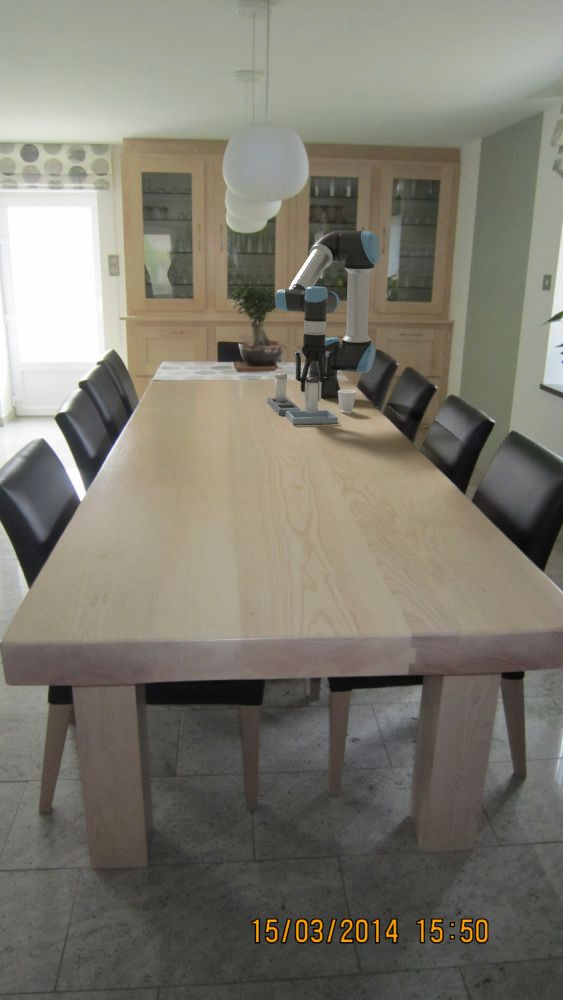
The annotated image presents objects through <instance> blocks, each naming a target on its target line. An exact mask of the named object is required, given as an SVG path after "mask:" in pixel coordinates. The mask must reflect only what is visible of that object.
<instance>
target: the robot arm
mask: <svg viewBox="0 0 563 1000" xmlns="http://www.w3.org/2000/svg"><path fill="white" fill-rule="evenodd" d="M380 256H381V246H380V241H379V238H378V235H377V234H376V233H375V232H373V231H368V230H367V231H366V230H334V231H331V232H329V233H327V234H325V235H323V236H322V237H321V238H319V239H318V240H316V241H315V243H313V245H312V246H311V247H310V249H309V252H308V257H307V259H306V261H304V263H303V265H302V266H301V268H300V269H299V271H298V272H297V273H296V275H295V277H294V279H293V280H292V282H291V283H290V285H289V286H288V287H287V288H281V289H278V290H277V291H276V292H275V293H276V294H275V296H274V303H275V308H276V309H277V310H278V311H284V312H288V313H289V312H294V313H304V314H303V315H304V316H303V317H304V318H303V319H304V321H303V332H304V334H303V337H302V338H303V342H302V343H303V344H302V348H301V350H298V351H294V356H295V380H296V381H298V382H300V391H301V392H302V401H303V402H304V403H305V402H307V385H308V383H306V378H308V377H316V378H319V390H318V402H322V398H325V399H326V398H336V397H337V398H338V391H339V390H341V386H340V382H339V378H338V371H339V372H349V373H357V374H359V373H368V372H369V371H370V370H371V369H372V367H373V365H374V362H375V358H376V352H377V351H376V350H377V349H376V345H375V344H374V343H372V338H371V337H370V336H369V335H368V334H369V333H368V332H369V308H370V307H369V306H370V285H371V282H370V281H371V278H370V277H371V272H373V270H374V269H375V265H377V264H378V263H379V261H380ZM333 263H343V269H344V270H345V271H346V272H347V290H346V291H347V294H346V295H347V297H346V324H345V325H346V327H345V328H346V329H345V333H346V334H344V336H343V337H342V339H341V340H342V341H340V338H339V337H335V336H334V337H326V335H325V333H326V332H327V330H326V329H327V314H332V313H334V312H335V311H337V310H338V309H339V306H340V304H341V303H340V302H341V301H340V297H339V296H338V294H337V293H336V292H334V291H331V290H328V288H327V287H326V286H317V285H316V283H317V282H318V280H319V279H320V277H321V275H323V273H324V271H325V270H326V268H328V267H330V266H331V265H332V264H333ZM302 356H304V357H305V359H304V366H303V369H301V368H302V359H301V358H302ZM308 373H309V374H308Z"/></svg>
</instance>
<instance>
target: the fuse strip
mask: <svg viewBox="0 0 563 1000" xmlns="http://www.w3.org/2000/svg"><path fill="white" fill-rule="evenodd" d="M274 400H275V397H267V398H266V404H268V405H269V406H270V408H271V409H272V410H273V411H274V412H275V413H276V414H277V415H278V416H286V411H302V410H301V409H300V407H299V406H298V405H296V404H295V403H294V402H293V401H292V400H291V399H290V398H289V397H288V396H286V402H274Z"/></svg>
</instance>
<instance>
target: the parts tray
mask: <svg viewBox="0 0 563 1000" xmlns="http://www.w3.org/2000/svg"><path fill="white" fill-rule="evenodd" d="M285 418H287V420H289V421H290V423H291V425H295V426H322V425H323V426H324V425H325V426H327V425H328V426H329V425H333V424H335V425H338V420H339V418H338V416H337V415H336V414H334V413H333V412H332V411H330V410H329V409H318V413H314V414H311V413H305V410H301V411H286V415H285Z"/></svg>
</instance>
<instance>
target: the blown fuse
mask: <svg viewBox="0 0 563 1000" xmlns="http://www.w3.org/2000/svg"><path fill="white" fill-rule="evenodd" d="M306 383H308V385H307V402H305V401H304V403H305V406H304V411H305V413H311V414H314V413H318V410H319V401H318V390H319V378H316V377H309V376H307V378H306Z"/></svg>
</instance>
